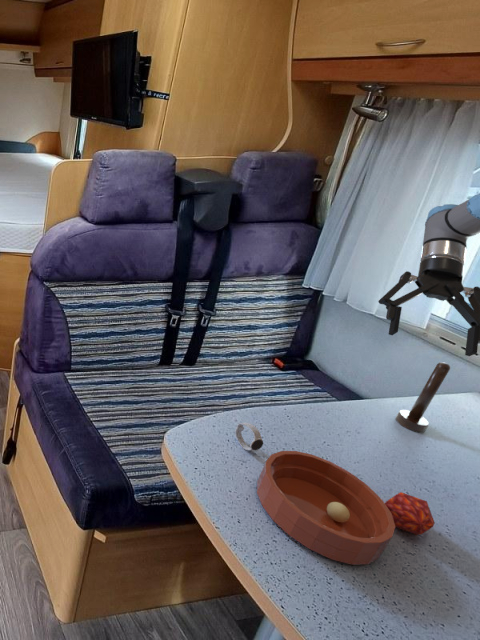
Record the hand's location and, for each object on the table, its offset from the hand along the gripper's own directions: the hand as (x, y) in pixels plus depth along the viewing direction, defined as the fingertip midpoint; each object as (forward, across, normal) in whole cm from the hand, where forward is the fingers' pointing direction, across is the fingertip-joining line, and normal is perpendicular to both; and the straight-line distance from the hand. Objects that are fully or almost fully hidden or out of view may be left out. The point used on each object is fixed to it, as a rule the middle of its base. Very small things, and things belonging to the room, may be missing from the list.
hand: (430, 343), depth 105 cm
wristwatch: (+41, +32, +18) cm, 55 cm away
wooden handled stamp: (+19, 0, -4) cm, 19 cm away
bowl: (+49, +21, +26) cm, 59 cm away
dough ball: (+47, +18, +27) cm, 57 cm away
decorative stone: (+44, +8, +20) cm, 49 cm away
